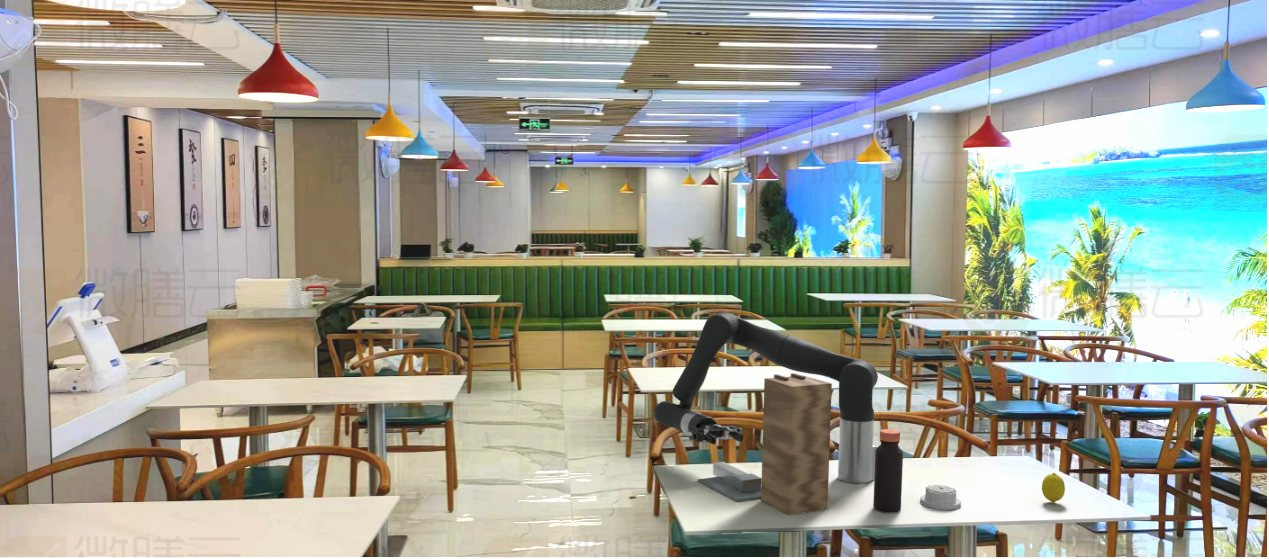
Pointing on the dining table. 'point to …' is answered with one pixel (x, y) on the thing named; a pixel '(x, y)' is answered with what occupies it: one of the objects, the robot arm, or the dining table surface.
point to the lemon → (1053, 487)
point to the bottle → (888, 473)
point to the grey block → (737, 477)
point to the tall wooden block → (796, 443)
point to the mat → (729, 489)
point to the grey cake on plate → (940, 497)
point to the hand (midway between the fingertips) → (728, 439)
